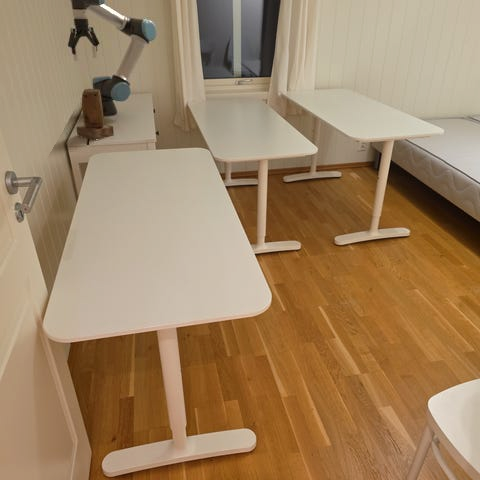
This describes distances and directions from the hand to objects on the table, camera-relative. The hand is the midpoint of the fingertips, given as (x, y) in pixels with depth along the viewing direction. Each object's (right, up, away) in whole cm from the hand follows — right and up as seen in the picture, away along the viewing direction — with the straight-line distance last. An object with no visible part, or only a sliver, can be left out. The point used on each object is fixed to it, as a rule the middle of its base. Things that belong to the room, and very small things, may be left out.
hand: (85, 59), depth 257 cm
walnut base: (+7, -44, -3) cm, 45 cm away
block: (+7, -40, -5) cm, 41 cm away
